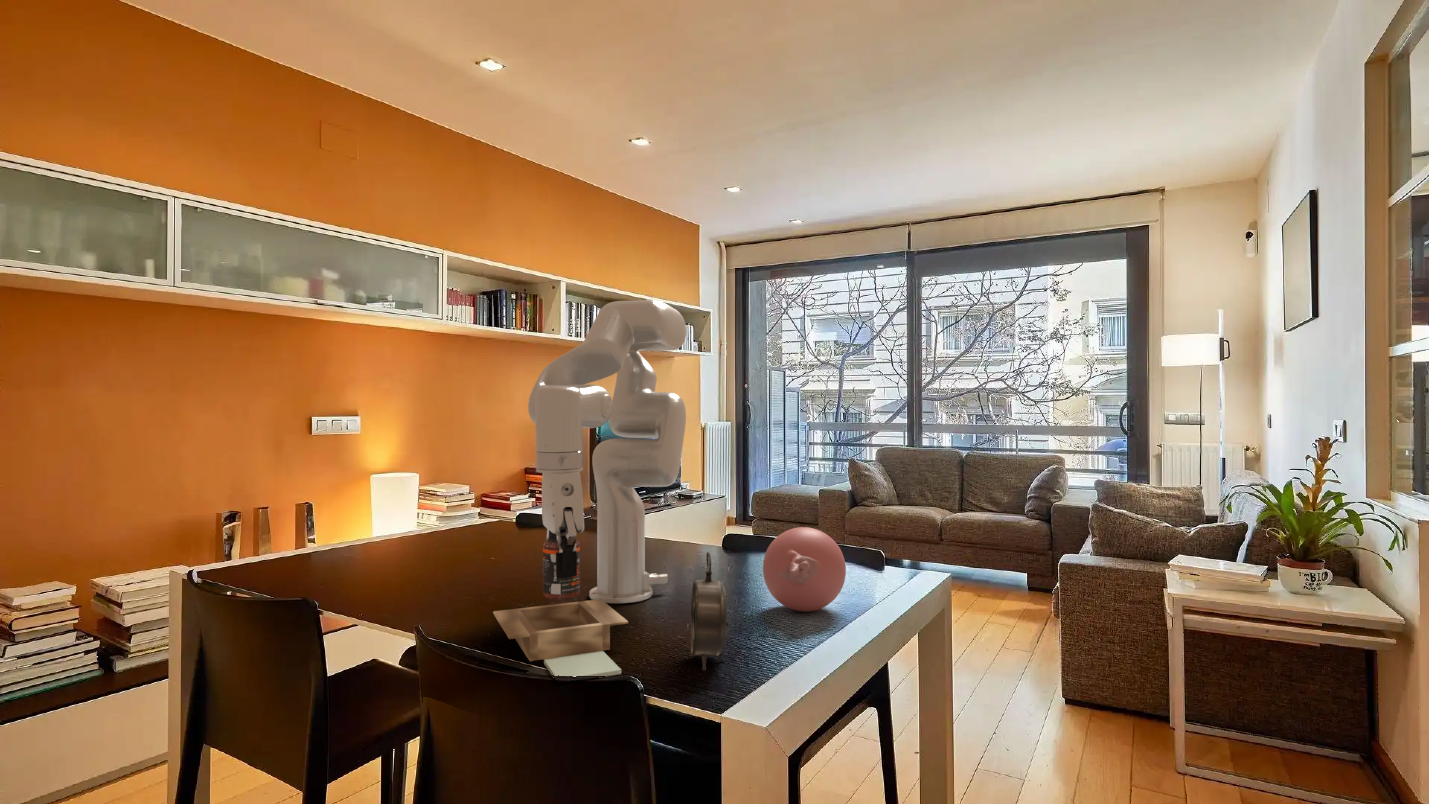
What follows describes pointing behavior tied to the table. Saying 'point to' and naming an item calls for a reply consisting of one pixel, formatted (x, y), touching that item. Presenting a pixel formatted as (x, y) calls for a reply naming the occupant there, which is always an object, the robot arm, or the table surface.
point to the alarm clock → (708, 617)
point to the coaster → (583, 665)
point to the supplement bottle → (551, 583)
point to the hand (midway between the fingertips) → (561, 570)
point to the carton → (560, 628)
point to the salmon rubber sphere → (804, 569)
